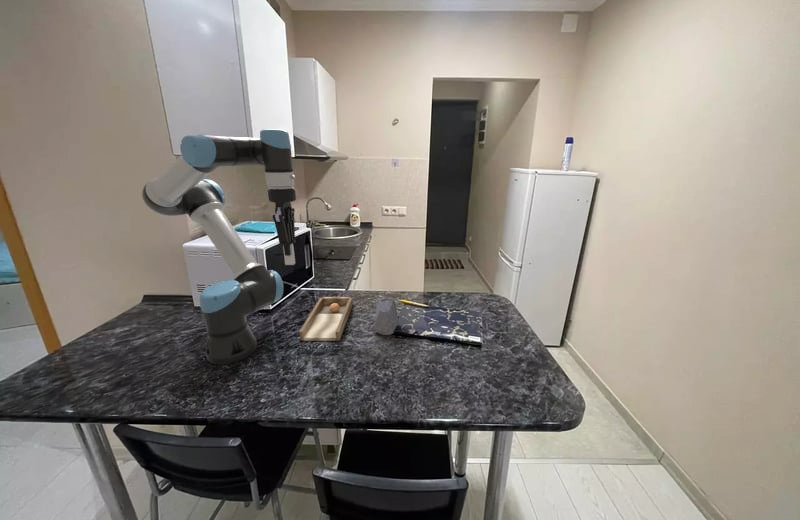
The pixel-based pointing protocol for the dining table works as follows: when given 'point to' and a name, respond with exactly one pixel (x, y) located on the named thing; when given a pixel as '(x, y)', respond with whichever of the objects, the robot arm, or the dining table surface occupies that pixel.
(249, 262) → the robot arm
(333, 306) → the ball
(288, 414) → the dining table surface
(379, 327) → the stone
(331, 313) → the tray
